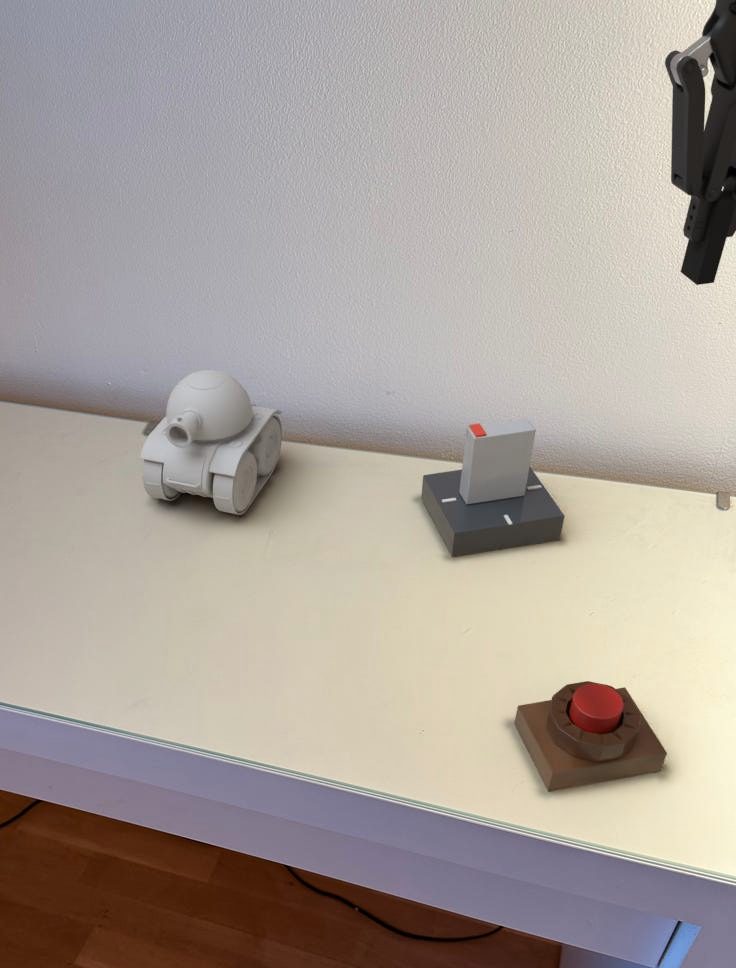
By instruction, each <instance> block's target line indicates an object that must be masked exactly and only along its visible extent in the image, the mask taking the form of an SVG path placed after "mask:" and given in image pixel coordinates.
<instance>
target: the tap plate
mask: <svg viewBox="0 0 736 968" xmlns="http://www.w3.org/2000/svg"><path fill="white" fill-rule="evenodd" d="M461 474H462V469H455V470H450V471H442V472H436V473H430V474H422V486H421V498H420V499H421V501H422V503H423V505H424V506H425V509H426V510H427V513H428V515H429V516H430V518H431V520H432V522H433V525H434V526H435V528H436V530H437V531H438V533H439V535H440V537H441V539H442V541H443V543H444V545H445V546H446V549H447V550H448V552H449V554H450V556H451V558H454V557H462V556H467V555H474V554H480V553H486V552H492V551H493V552H494V551H500V550H506V549H512V548H518V547H519V548H520V547H524V546H531V545H538V544H544V543H550V542H557V541H561V535H562V530H563V526H564V522H565V517H566V516H565V514H564V513H563V511H562V509H561V508H560V507H559V505H558V504H557V503H556V502H555V500H554V498H553V497H552V495H551V494H550V493H549V491H548V490H547V489H546V487H545V485H544V484H543V483H542V481H541V480H540V478H539V477H538V476H537V474H536V472H535V471H534V470H533V469H532V466H530V467H529V473H528V479H527V484H526V490H525V495H524V496H519V497H513V498H506V499H500V500H493V501H486V502H480V503H473V504H466V503H465V501H464V499H463V498H462V496H461V494H460V492H459V491H460V482H461Z"/></svg>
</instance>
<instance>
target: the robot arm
mask: <svg viewBox="0 0 736 968" xmlns="http://www.w3.org/2000/svg"><path fill="white" fill-rule="evenodd" d="M709 61H710V64H711V67H712V69H713V72H714V73H713V77H712V81H711V86H710V93H711V102H710V105H709V109H708V113H707V117H706V121H705V115H706V85H705V80H704V78H705V77H706V76H708V74H709V67H708V66H709V65H708V62H709ZM664 66H665V69H666V71H667V74H668V77H669V81H670V83H671V85H672V104H671V105H672V107H671V108H672V109H671V114H672V115H671V159H670V161H671V163H670V165H671V166H670V180H671V181H670V182H671V184H672V185H673V186H675V187H676V188H677V189H679V190H680V191H682V192H684V193H685V194H686V195H687V196H690V201H689V204H688V208H687V212H686V217H685V222H684V225H683V229H682V231H683V236H684V237H685V238H687V239H688V241H687V244H686V249H685V253H684V256H683V260H682V263H681V269H680V273H681V274H682V275H683V276H685V277H686V278H687V279H689V280H690V281H691V282H693V284H695V285H696V286H699V285H706V284H707V285H708V284H712V283H713V284H714V283H715V281H716V276H717V273H718V269H719V266H720V262H721V259H722V255H723V251H724V248H725V244H726V241H727V238H732V237H733V236H734V235H735V233H736V0H715V5H714V8H713V10H712V12H711V14H710V16H709V17H708V19H707V21H705V24H704V26H703V29H702V32H701V37H699V38H698V39H697V40H695V42H693V43H692V44H691V45H690V46H688V47H687V48H686V49H684V50H683V51H682V52H681V51H679V50H672V51H671V52H669V54H667V56H666V57H665V60H664Z"/></svg>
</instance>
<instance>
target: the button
mask: <svg viewBox="0 0 736 968" xmlns="http://www.w3.org/2000/svg"><path fill="white" fill-rule="evenodd" d="M601 684H602V683H600V684H587V685H583V686H581V687H580V688H578V689H577V690H576V691H575V693H574V696H573V700H572V703H571V707H570V717H571V719H572V721H573V723H574V724H575V725H576V726H577V727H579V728H580V729H582V730H584V731H586V732H591V733H595V734H604V733H608V732H610V731H612V730H614V729H615V728H616V727H617V725H618V723H619V720H620V717H621V713H622V710H623V700H622V698H621V696H620V695H619V694H618V693H617V692H616V691H615V690H613V689H612V688H610V687H607V686H605V685H606V684H605V685H601Z"/></svg>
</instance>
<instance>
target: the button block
mask: <svg viewBox="0 0 736 968" xmlns="http://www.w3.org/2000/svg"><path fill="white" fill-rule="evenodd" d="M587 684H601V685H605V686H607V687H610V688H612V689H613V690H615V691H616V692H617V693H618V694H619V695H620V696H621V698H622V700H623V710H622V713H621V717H620V720H619V723H618V725H617V727H616V728H615V729H614V730H612V731H610V732H608V733H604V734H595V733H591V732H586V731H584V730H582V729H580V728H579V727H577V726H576V725H575V724H574V723H573V721H572V719H571V717H570V707H571V703H572V700H573V696H574V693H575V691H576V690H577V689H578V688H580V687H581V686H583V685H587ZM513 724H514V726H515V728H516V730H517V732H518V734H519V736H520V739H521V741H522V742H523V744H524V746H525V748H526V750H527V752H528V754H529V756H530V758H531V760H532V762H533V764H534V765H535V768H536V770H537V773H538V775H539V776H540V778H541V781H542V782H543V784H544V787H545V788H546V790H547V792H554V791H558V790H563V789H564V790H565V789H570V788H575V787H580V786H581V787H582V786H586V785H592V784H598V783H604V782H608V781H614V780H618V779H626V778H630V777H636V776H643V775H646V774H653V773H658V772H661V771H662V768H663V765H664V763H665V760H666V757H667V755H668V752H667V751H666V749H665V747H664V746H663V744H662V743H661V741H660V740H659V737H658V736H657V734H655V731H654V729H652V727H651V725H650V724H649V721H648V720H647V719H646V717H645V716H644V715H643V712H642V711H641V710H640V708H639V706H638V705H637V703H636V702H635V701H634V699H633V697H632V696H631V693H630V692H629V691H628V690H627V688H626V687H625V686H624V687H619V688H615V687H614V686H612V685H609V684H605V683H600V682H596V681H595V682H594V681H591V680H586V681H579V682H574V683H567V684H566V685H564V686H563V687H562V688H560V689H559V690H558V691H557V692H556V693H554V694H553V695H552V697H551V699H549V700H543V701H537V702H531V703H525V704H520V705H519V704H518V705H517V707H516V713H515V719H514V723H513Z"/></svg>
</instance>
